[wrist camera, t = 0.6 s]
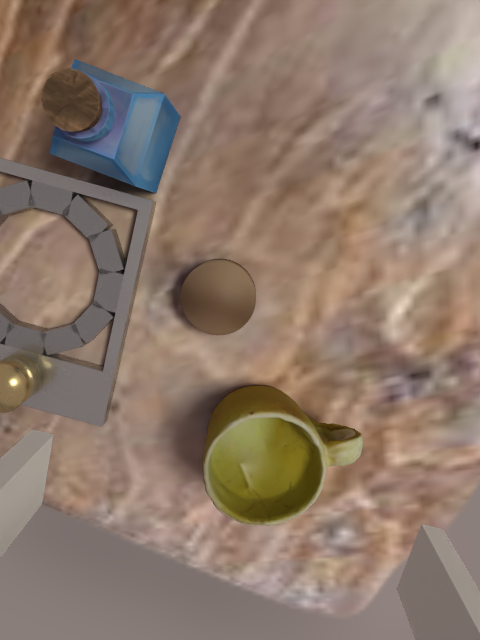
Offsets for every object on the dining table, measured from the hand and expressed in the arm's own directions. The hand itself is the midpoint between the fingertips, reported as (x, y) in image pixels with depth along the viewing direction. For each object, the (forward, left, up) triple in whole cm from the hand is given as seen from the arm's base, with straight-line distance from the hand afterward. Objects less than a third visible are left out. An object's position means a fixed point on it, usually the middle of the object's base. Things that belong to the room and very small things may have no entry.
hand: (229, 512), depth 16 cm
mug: (+7, +5, -24) cm, 25 cm away
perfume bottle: (-13, -13, -24) cm, 31 cm away
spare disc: (-3, -3, -24) cm, 24 cm away
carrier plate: (+1, -18, -24) cm, 30 cm away
